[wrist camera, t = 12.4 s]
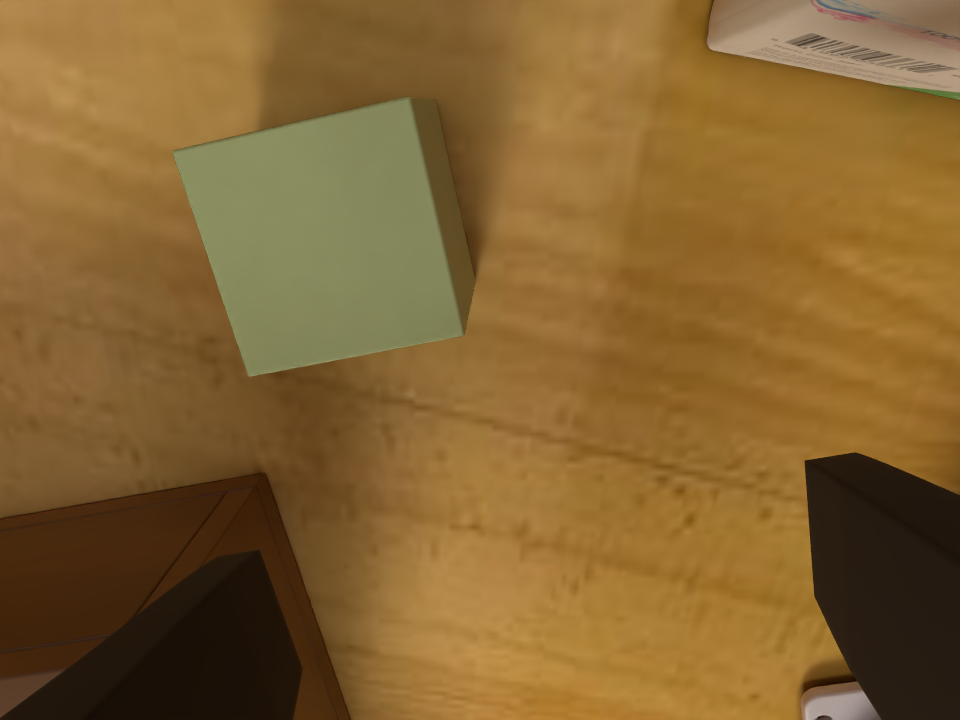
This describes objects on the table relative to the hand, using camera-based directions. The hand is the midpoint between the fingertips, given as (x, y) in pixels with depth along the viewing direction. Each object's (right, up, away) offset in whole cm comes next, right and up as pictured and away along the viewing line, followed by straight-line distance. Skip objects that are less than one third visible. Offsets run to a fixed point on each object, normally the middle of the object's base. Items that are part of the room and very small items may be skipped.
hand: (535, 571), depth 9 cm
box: (-3, +6, +8) cm, 11 cm away
